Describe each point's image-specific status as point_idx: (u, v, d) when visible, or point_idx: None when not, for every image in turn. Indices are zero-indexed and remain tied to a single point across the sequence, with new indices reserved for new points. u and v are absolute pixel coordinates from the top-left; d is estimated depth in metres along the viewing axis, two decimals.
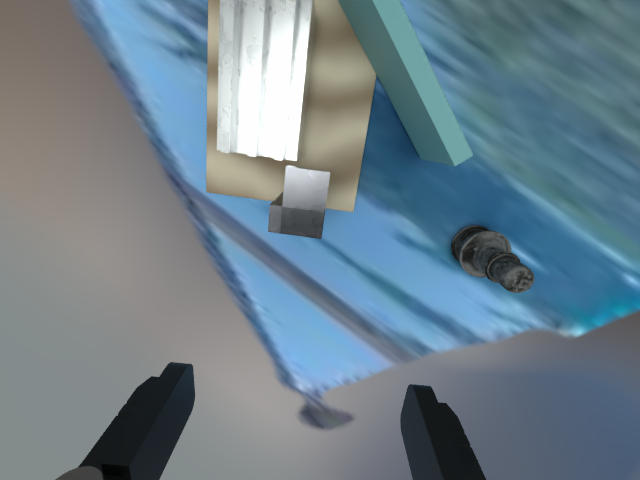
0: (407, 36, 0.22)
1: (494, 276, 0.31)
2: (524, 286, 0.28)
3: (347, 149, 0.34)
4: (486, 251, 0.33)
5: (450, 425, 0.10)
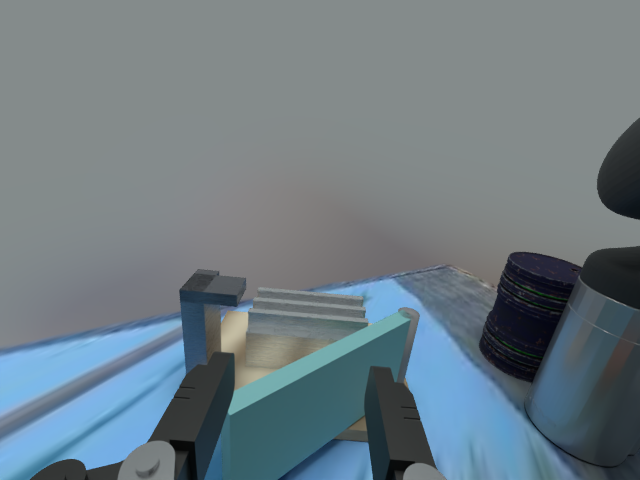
0: (342, 349, 0.26)
1: None
2: None
3: None
4: None
5: (404, 402, 0.10)
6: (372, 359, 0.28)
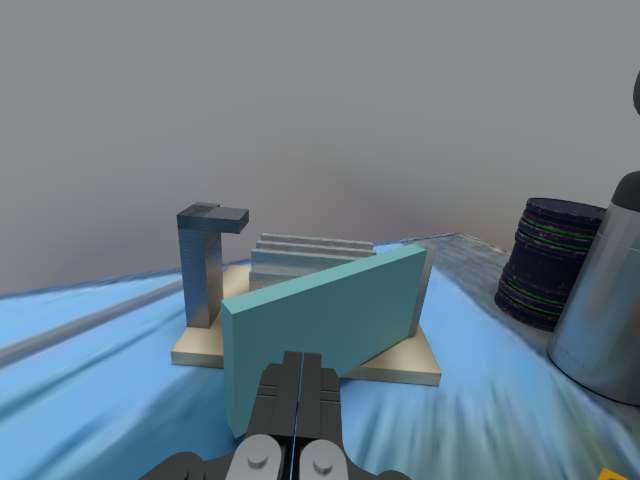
0: (355, 268, 0.23)
1: None
2: None
3: None
4: None
5: (329, 386, 0.11)
6: (387, 288, 0.26)
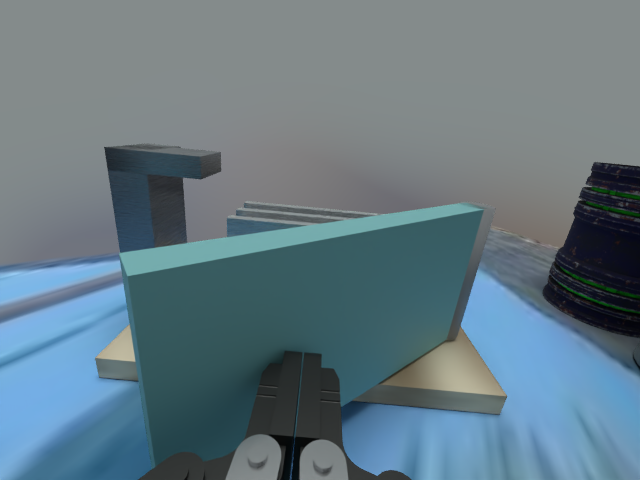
0: (383, 222, 0.14)
1: None
2: None
3: None
4: None
5: (329, 386, 0.11)
6: (427, 262, 0.17)
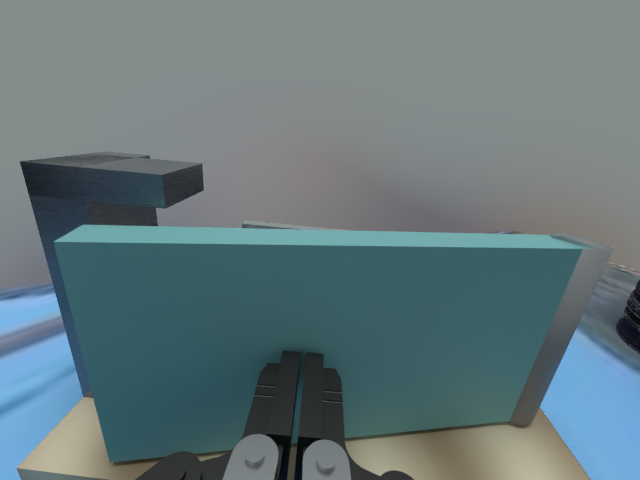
0: (372, 240, 0.11)
1: None
2: None
3: None
4: None
5: (331, 386, 0.11)
6: (453, 304, 0.13)
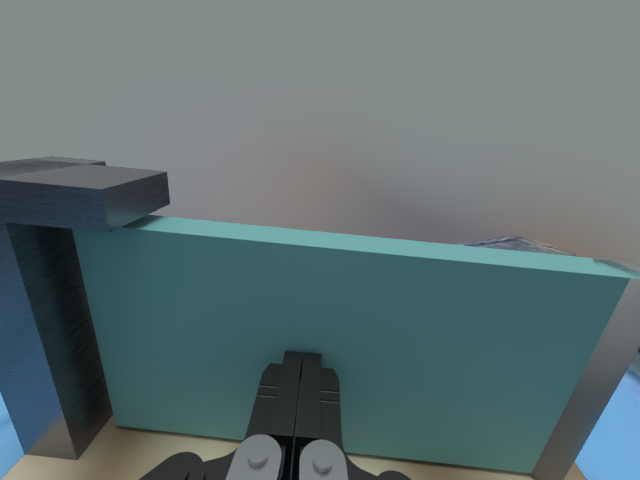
0: (362, 245, 0.11)
1: None
2: None
3: None
4: None
5: (329, 385, 0.11)
6: (454, 325, 0.11)
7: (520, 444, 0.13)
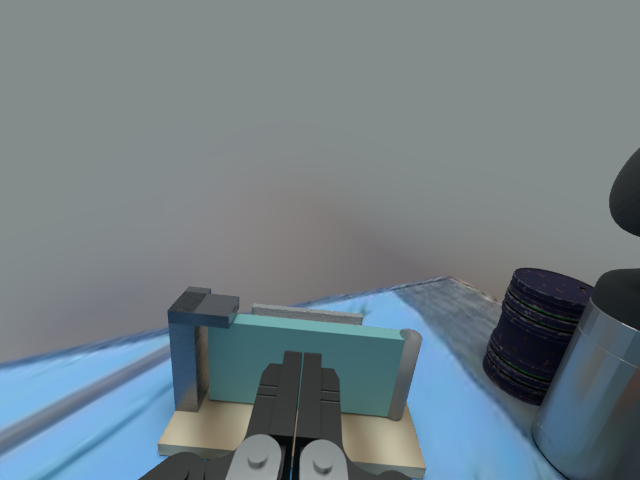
0: (313, 327, 0.30)
1: None
2: None
3: (240, 431, 0.30)
4: None
5: (329, 386, 0.11)
6: (348, 356, 0.30)
7: (380, 403, 0.32)
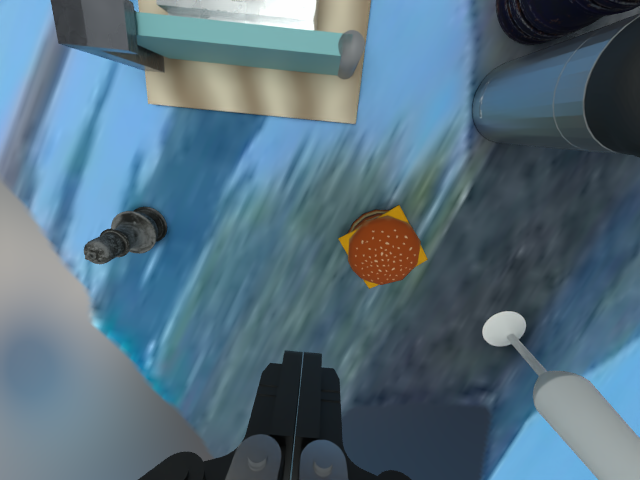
0: (233, 36, 0.25)
1: (100, 236, 0.35)
2: (87, 255, 0.32)
3: (206, 92, 0.36)
4: (130, 230, 0.38)
5: (329, 386, 0.11)
6: (282, 56, 0.27)
7: (328, 72, 0.33)
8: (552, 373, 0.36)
